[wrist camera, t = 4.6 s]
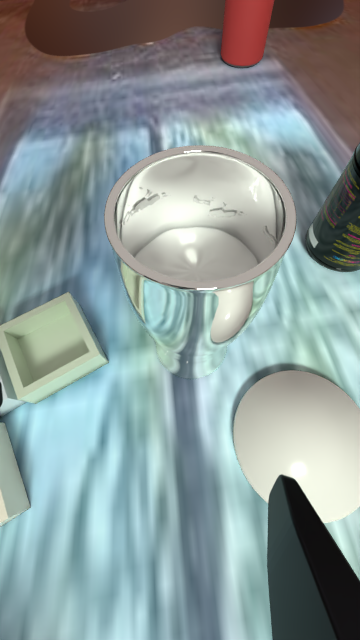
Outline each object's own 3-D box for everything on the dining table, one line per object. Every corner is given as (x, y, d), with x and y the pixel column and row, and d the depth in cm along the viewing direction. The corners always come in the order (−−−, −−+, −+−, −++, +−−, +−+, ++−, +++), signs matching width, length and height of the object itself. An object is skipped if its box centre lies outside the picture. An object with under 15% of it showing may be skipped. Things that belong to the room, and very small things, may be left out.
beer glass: (154, 307, 24) (112, 140, 10) (230, 309, 24) (288, 140, 10) (147, 384, 21) (79, 293, 8) (233, 386, 21) (321, 298, 7)
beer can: (268, 66, 40) (299, -72, 29) (228, 73, 40) (243, -65, 29) (253, 45, 43) (276, -88, 32) (214, 52, 43) (225, -82, 32)
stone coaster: (293, 555, 17) (297, 560, 16) (207, 414, 20) (207, 414, 20) (401, 464, 19) (407, 465, 18) (305, 350, 22) (308, 347, 22)
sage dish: (36, 403, 21) (17, 399, 19) (12, 339, 23) (-7, 328, 21) (108, 362, 22) (99, 354, 20) (79, 305, 24) (68, 291, 22)
